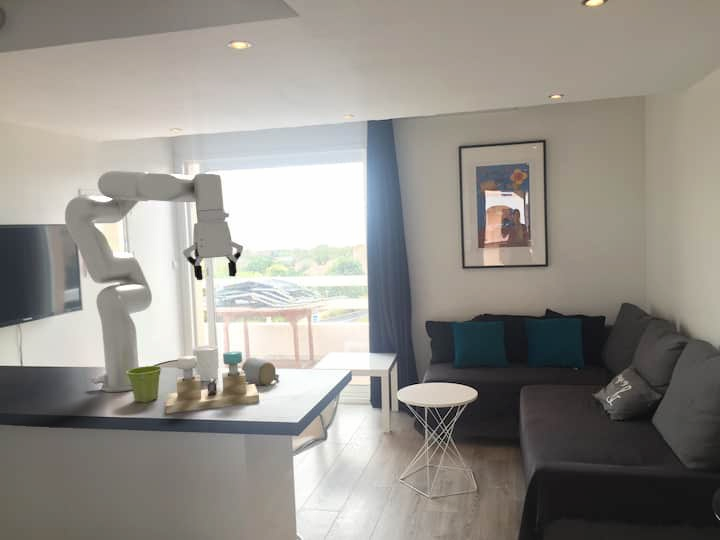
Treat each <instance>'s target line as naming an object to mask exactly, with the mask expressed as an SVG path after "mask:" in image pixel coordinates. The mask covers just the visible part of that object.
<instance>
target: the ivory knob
mask: <svg viewBox="0 0 720 540" xmlns="http://www.w3.org/2000/svg"><path fill="white" fill-rule="evenodd" d="M195 367H197V357H196V356H193V355H185V356H179V357H178V358H177V369H178V370H183V371H182V372H183V377H184V381H187V380H193V376H194V372H193V371H194V369H195Z"/></svg>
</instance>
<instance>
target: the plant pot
mask: <svg viewBox="0 0 720 540" xmlns="http://www.w3.org/2000/svg"><path fill="white" fill-rule="evenodd" d="M162 369H163V368H162V366H159V365H147V366H139V367H138V368H133V369H130V370H128V371H126V373H127V374H128V376H129V379H130V381H131V385H132V390H131V391H132V393H133V399H134V401H135V402H136V403H138V402H140V403H149V402H152V401H154V400H157V399H158V398H159V386H160V385H159V384H160V375H161V371H162Z"/></svg>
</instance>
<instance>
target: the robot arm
mask: <svg viewBox="0 0 720 540" xmlns="http://www.w3.org/2000/svg"><path fill="white" fill-rule="evenodd" d="M222 186H223V185H222V178H221V175H220V174H219V173H216V172H200V173H196V174H195V175H194V176H193V175H183V174H176V173H175V174H174V173H154V172H152V173H151V172H148V171H128V170H127V171H125V170H122V171H121V170H110V171H107V172H104V173H103V174H102V175H100V177H99V178H98V180H97V188H98V190H99V192H100V193H101V195H80V196H76V197H73V198H71V200H70V201H68V203H67V205H66V206H65V207H66V208H65V211H64V220H65V221H64V222H65V225H66V229H67V230H68V231H67V232H69V234H70V236H71V237H72V240H73V241H74V244H76V246H77V248H78V251H79V253H80V256H81V259H82V261H83V262H84V265H85V267H86V270H87V272H88V275H89V276H90V278H91V280H92V281H93V282H94V283H96V284H100V285H105V284H106V285H107V284H112V285H109V286H107V287H103V288H102V289H101V290H100V291H99V292H98V294H97V295H96V301H95V303H96V309H97V311H98V314H99V318H100V323H101V331H102V342H103V352H104V357H103V358H104V366H105V368H104V369H105V373H104V374H102V375H101V376H91V377H90V383H91V384H94V385H95V384H96V385H97V384H101V385H100V386H101V387H100V389H101V391H103V392H107V393H120V392H128V391H133V390H132V385H131V381H130V379H129V376H128V374H127V373H126V371H128V370H130V369H133V368H138V367H140V365H139V354H138V340H137V339H138V338H137V329H136V325H135V322H134V321H133V319H132V316H131V315H130V314H134V313H135V314H136V313H139V312H140V313H141V312H142V311H146V310H147V309H148V308H149V307H150V306H151V304H152V302H153V301H152V300H153V296H152V295H153V294H152V290H151V288H150V286H149V283H148V281H147V279H146V277H145V274H144V271H143V269H142V267H141V265H140V263H139V261H138V260H137V258H136V257H135V256H134V255H133V254H131V253H129V252H125V251H113V250H112V248H111V246H110V244H109V242H108V240H107V237H106V236H105V234H104V233H103V232H102V231H101V230H100V229H99V228H97V227H96V225H95V224H116V223H119V222H120V221H122V220H123V219H124V218H125V217H126V216H127V215H128V214H129V213H130V212H131V211H132V210H133V209H134V208H135V206H136V205H137V204H139V202H149V201H156V202H157V201H158V202H159V201H160V202H171V203H175V202H176V203H195V211H196V212H195V213H196V221H197V222H195V223H194V224H193V235H192V237H193V243H192V244H191V245H190V246H188V247H187V248H186V249H183V251H182V254H183V255H184V258H185V259H186V261H187V262H188V263H189V264H191V266H192V267H193V271H194V278H196V280H197V281H202V280H203V279H204V277H203V267H202V265H201V263H202V261H203V260H204V259H212V258H222V257H223V258H224V257H225V258H226V259H227V260H228V261H229V262H228V263H227V265H228V275H229V277H236V274H237V264H236V263H237V262H238V260H239V258H240V257H241V256H242V252H243V250H244V245H241V244H239V243H237V242H234V241H232V235H231V231H230V227H229V223H228V221H225V220H226V218H229V216H230V213H229V212H227V211H225V208H224V198H223V189H222V188H223V187H222ZM234 249H236V250H235V253H234V251H233V250H234ZM192 252H193V255H194V257H192V255H191V253H192ZM233 253H234V254H233ZM115 283H119V284H115Z"/></svg>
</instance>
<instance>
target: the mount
mask: <svg viewBox="0 0 720 540" xmlns="http://www.w3.org/2000/svg"><path fill="white" fill-rule="evenodd" d="M221 375H222V376H221V379H222V387H217V394H216V395H212V396H209V395H208V388H206V389H201V388H202V387H201V381H200V375H196V374H195V375H193V380H187V381H184V376H180V377H177V378H176V392H172V393H167V395H166V400H165V414H172V413H182V412H191V411H197V410H205V409H213V408H222V407H230V406H231V407H232V406H238V405H245V404H246V403H248V404H254V403H253V402H256V403H260V395H259V392H258V389H257V387H256V384H252V383H248V384H247V382H246V375H245V372H244V370H243V371H242V370H238V375H233V376H229V371H226V372H222V373H221Z"/></svg>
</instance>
